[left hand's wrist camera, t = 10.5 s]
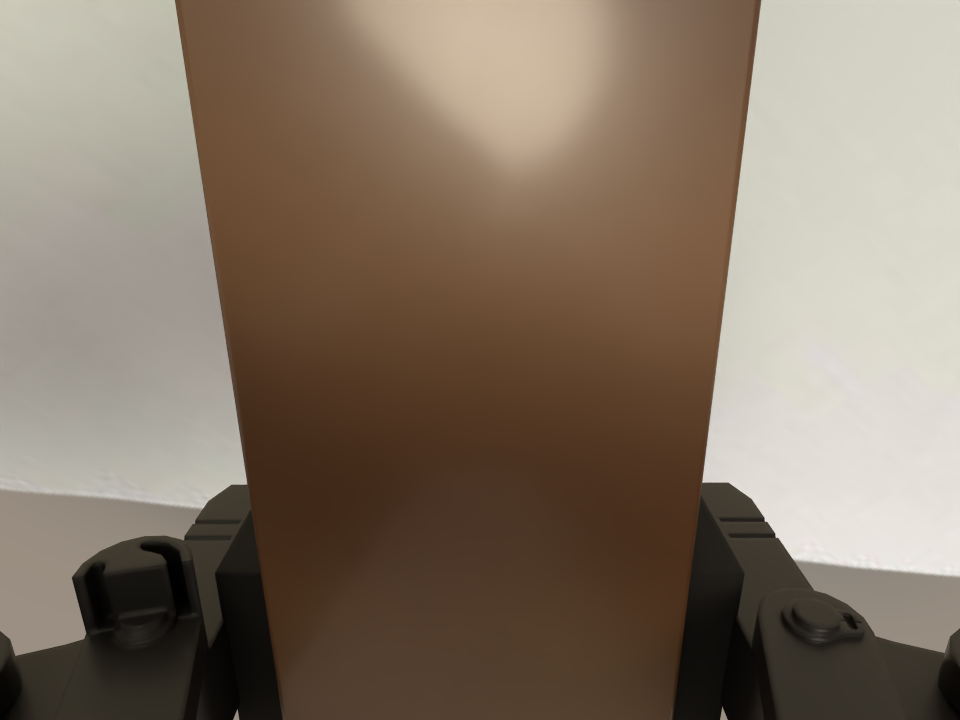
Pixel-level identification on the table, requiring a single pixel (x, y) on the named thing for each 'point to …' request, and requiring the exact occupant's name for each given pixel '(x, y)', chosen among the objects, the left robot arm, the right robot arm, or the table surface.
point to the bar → (472, 335)
